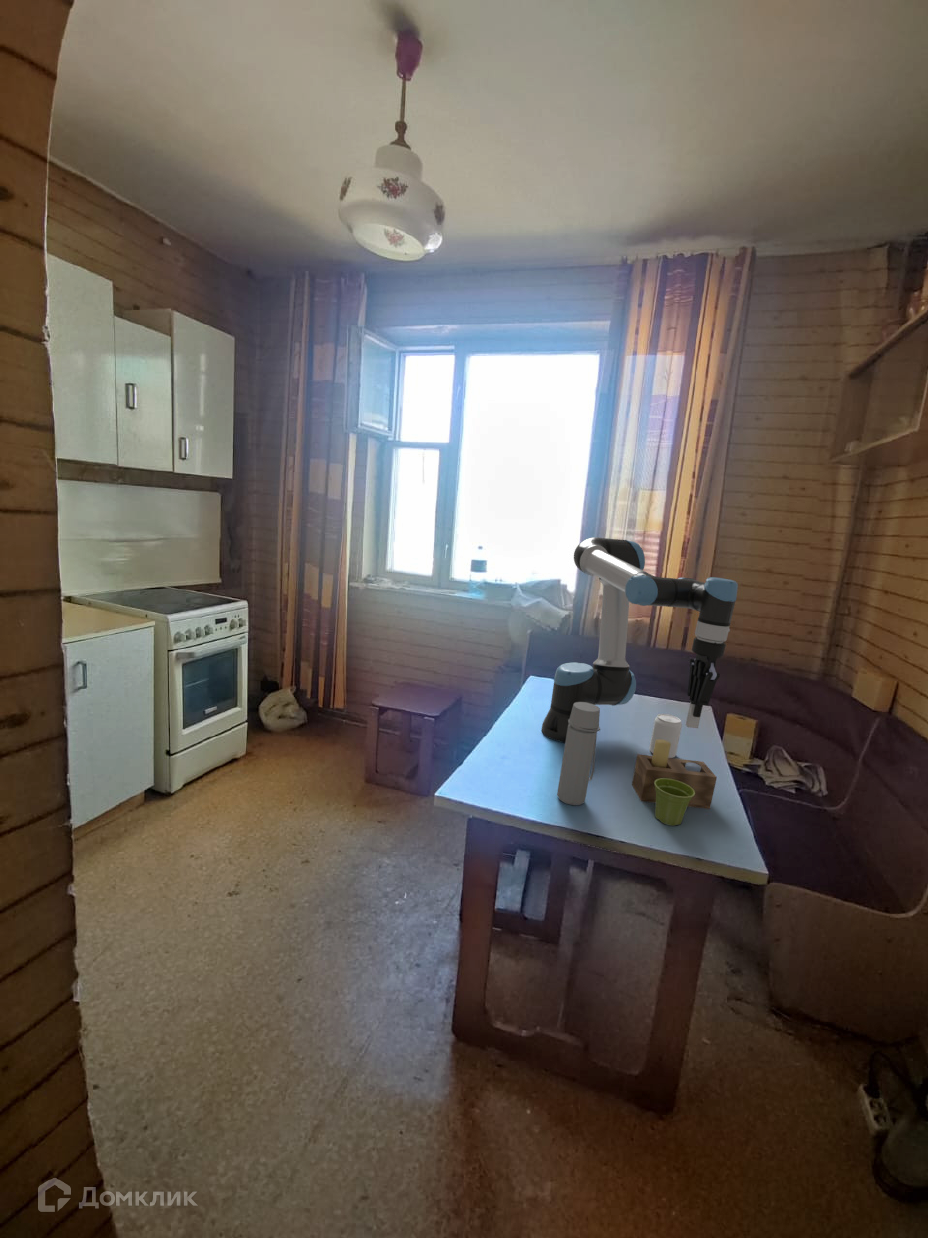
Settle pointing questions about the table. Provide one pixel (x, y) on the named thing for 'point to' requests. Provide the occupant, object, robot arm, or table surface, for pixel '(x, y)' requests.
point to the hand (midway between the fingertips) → (691, 726)
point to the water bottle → (579, 753)
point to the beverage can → (666, 732)
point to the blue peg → (692, 767)
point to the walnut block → (674, 770)
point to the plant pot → (671, 800)
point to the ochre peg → (660, 753)
